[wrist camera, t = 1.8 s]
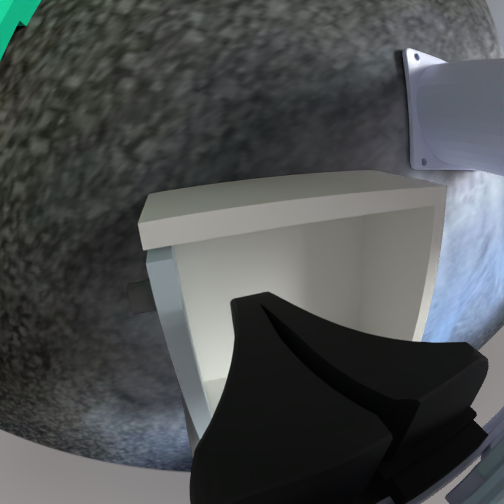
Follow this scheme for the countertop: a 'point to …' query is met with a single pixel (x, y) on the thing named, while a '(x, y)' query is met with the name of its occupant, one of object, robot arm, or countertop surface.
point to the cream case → (300, 254)
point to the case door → (173, 328)
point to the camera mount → (14, 18)
